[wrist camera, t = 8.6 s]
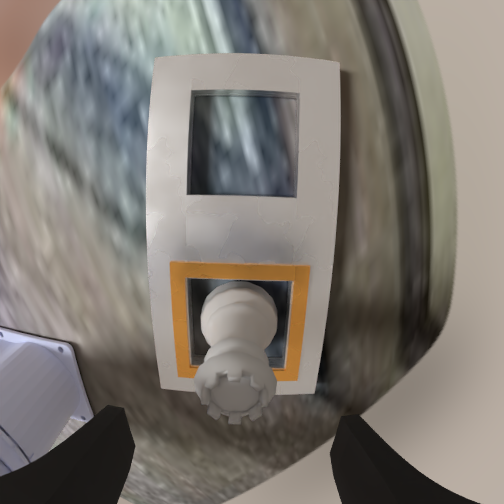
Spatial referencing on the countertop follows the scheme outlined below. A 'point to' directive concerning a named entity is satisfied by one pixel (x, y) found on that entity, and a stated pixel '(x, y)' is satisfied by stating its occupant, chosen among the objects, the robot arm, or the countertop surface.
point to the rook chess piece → (237, 351)
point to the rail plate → (242, 210)
